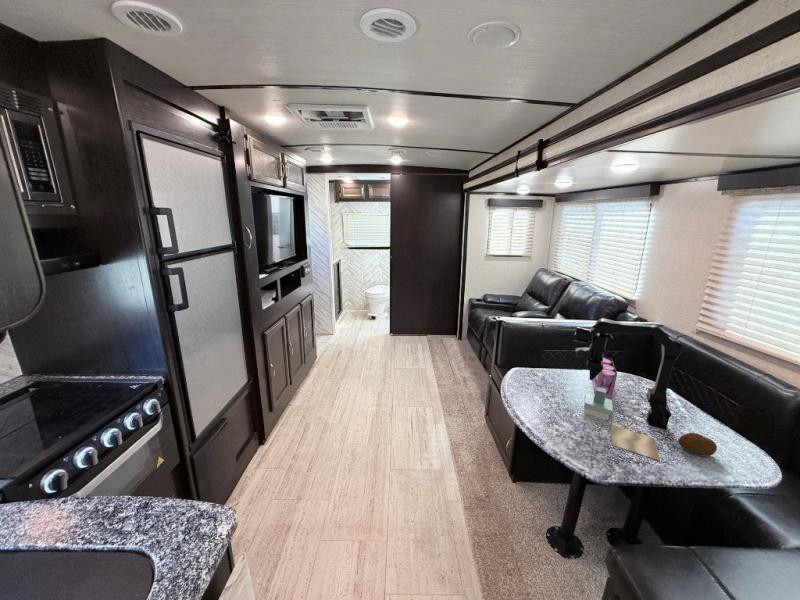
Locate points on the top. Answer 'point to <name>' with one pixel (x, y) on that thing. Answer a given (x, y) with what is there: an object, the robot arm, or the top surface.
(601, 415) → the box
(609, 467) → the top surface
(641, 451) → the cork mat
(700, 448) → the potato
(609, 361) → the gum box
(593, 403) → the lid
